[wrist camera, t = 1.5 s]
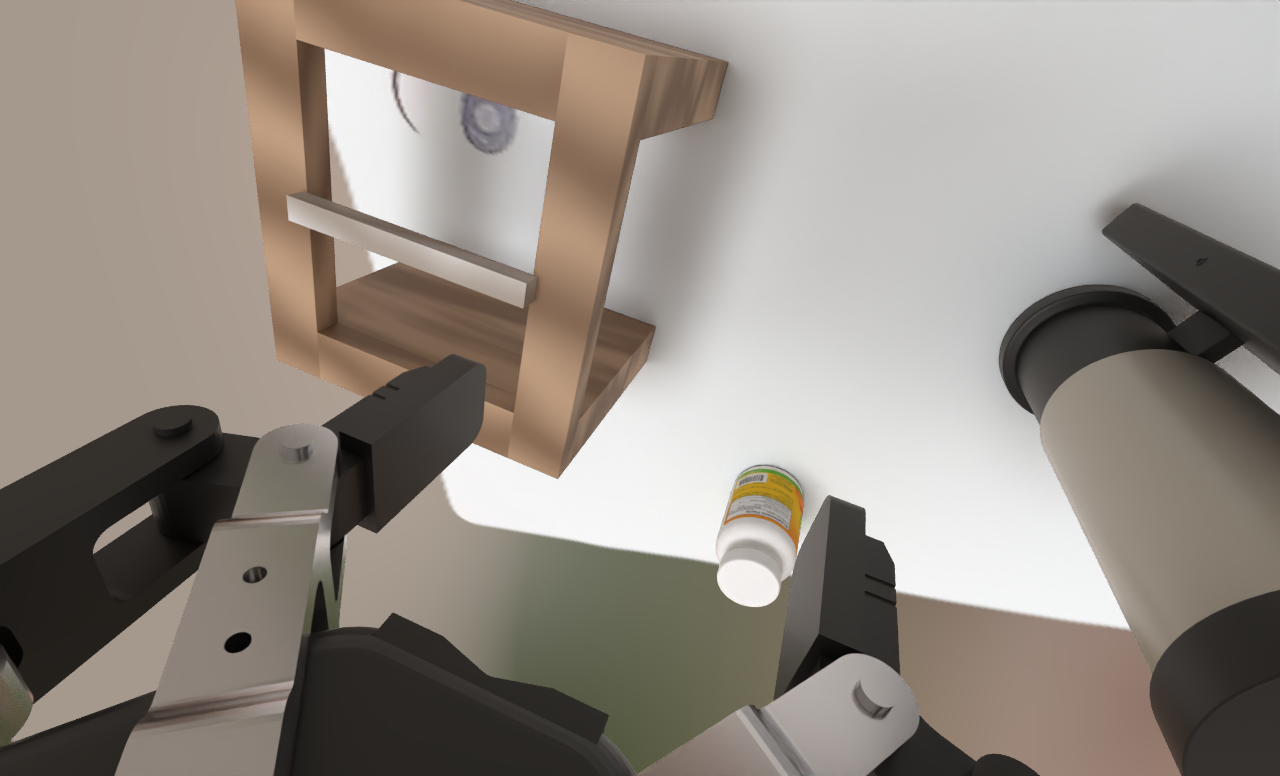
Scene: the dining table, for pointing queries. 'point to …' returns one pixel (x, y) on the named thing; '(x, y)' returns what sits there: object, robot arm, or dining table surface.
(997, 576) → the dining table surface
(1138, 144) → the dining table surface
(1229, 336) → the light fixture
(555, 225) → the wooden frame stand
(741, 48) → the dining table surface
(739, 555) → the supplement bottle
